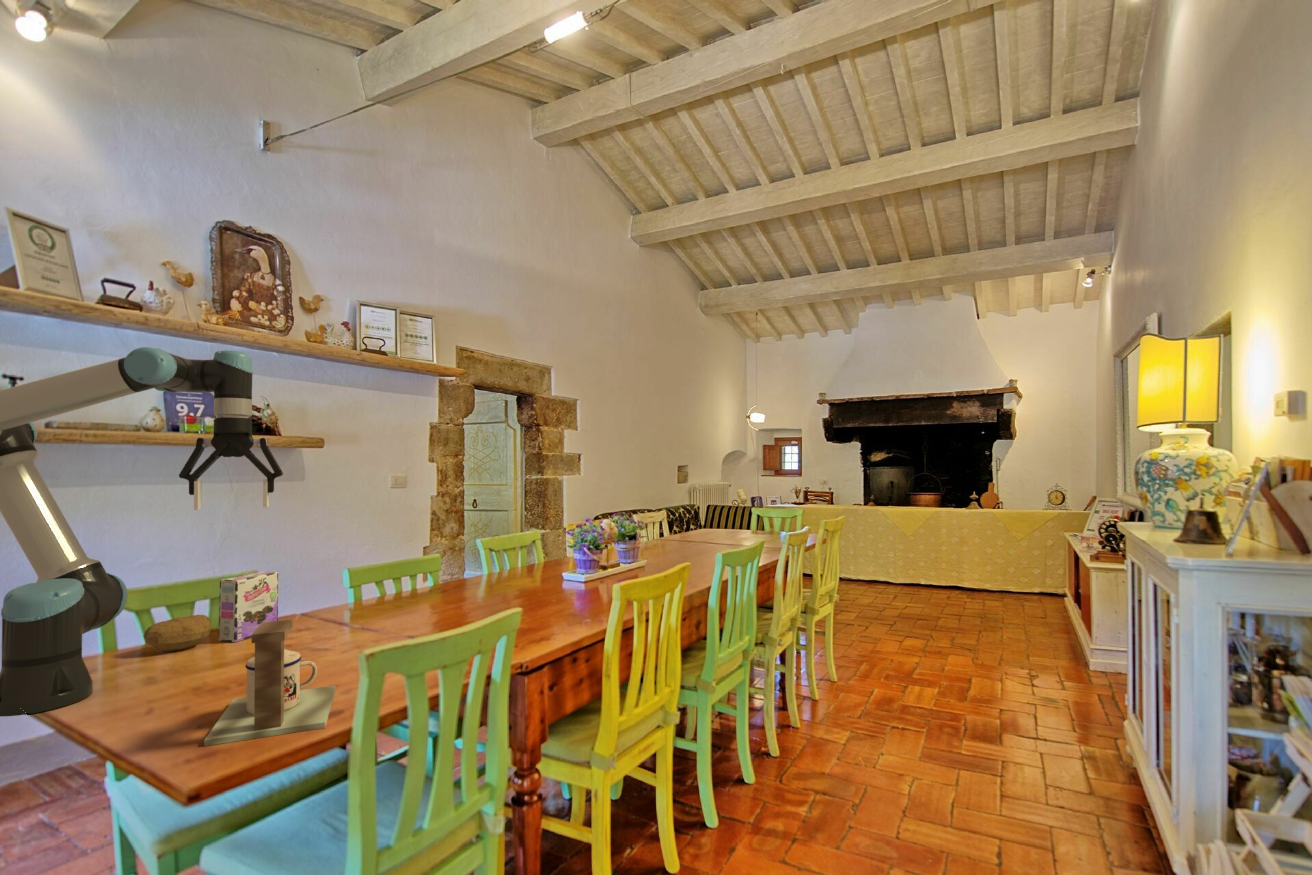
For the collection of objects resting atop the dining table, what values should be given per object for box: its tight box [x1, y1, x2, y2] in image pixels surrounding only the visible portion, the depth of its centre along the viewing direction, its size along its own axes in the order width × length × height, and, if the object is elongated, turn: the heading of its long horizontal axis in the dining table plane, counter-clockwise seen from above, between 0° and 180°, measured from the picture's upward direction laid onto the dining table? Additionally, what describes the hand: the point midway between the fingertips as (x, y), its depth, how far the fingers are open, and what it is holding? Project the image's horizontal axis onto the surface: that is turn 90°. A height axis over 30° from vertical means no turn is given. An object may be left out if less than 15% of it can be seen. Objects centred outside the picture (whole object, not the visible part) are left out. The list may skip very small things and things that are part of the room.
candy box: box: [218, 570, 279, 643], centre depth 175 cm, size 14×6×16 cm, turn 165°
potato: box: [143, 614, 212, 653], centre depth 162 cm, size 10×14×8 cm
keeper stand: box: [203, 619, 337, 747], centre depth 119 cm, size 18×20×18 cm
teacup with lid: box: [244, 648, 318, 714], centre depth 122 cm, size 12×9×12 cm
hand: (232, 508), depth 149 cm, fingers open, 13 cm apart
